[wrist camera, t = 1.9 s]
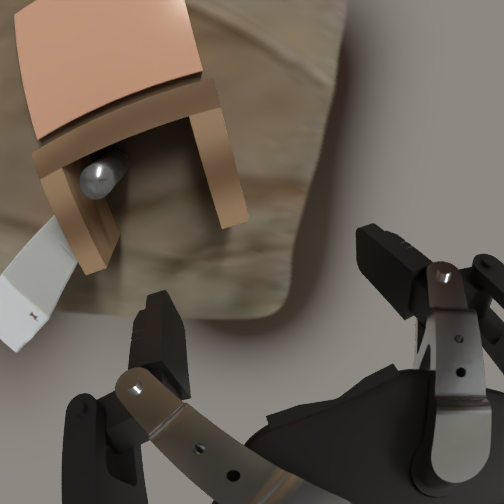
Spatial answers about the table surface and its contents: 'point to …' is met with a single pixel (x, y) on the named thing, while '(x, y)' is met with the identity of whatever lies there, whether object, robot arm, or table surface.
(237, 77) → the table surface
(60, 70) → the tile
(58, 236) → the skincare box
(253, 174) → the table surface
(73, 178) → the c link
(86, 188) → the post
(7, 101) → the table surface
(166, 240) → the table surface
